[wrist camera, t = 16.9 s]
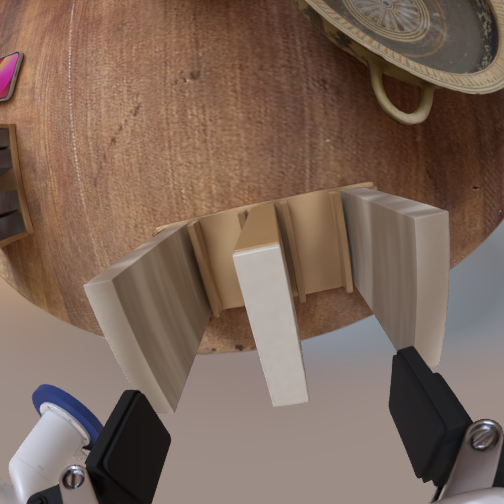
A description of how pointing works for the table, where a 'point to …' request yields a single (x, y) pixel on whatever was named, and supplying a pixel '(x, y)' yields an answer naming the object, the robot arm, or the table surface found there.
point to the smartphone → (9, 73)
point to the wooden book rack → (11, 191)
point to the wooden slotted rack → (300, 273)
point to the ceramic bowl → (418, 44)
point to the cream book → (271, 305)
